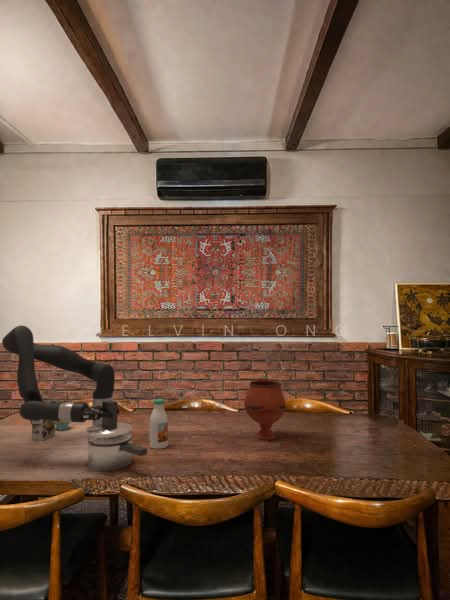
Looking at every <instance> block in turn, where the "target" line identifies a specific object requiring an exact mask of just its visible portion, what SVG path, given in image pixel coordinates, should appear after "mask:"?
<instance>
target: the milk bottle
mask: <svg viewBox="0 0 450 600" xmlns="http://www.w3.org/2000/svg"><path fill="white" fill-rule="evenodd" d="M152 404H153V405H152V406H153V409H152V411H151V412H152V413H151V415H150V419H149V447H150V449H154V450H161V449H165V448H167V447H168V445H169V421H168V415H167V412H166V411H165V407H164V405H165V399H163V398H155V399H153V401H152Z"/></svg>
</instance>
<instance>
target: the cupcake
mask: <svg viewBox="0 0 450 600" xmlns="http://www.w3.org/2000/svg"><path fill="white" fill-rule="evenodd" d="M70 423H71V422H64V421H55V428H56V429H57V430H58V431H65V430H68V428H69V425H70Z"/></svg>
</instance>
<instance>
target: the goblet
mask: <svg viewBox="0 0 450 600" xmlns="http://www.w3.org/2000/svg"><path fill="white" fill-rule="evenodd" d="M246 391H247V392H246V394H245V397H244V401H243V402H244V403H243V404H244V409H245V412H246V414H247V415H248V417H250V418H251V420H252V421H254V422H255V423H258V424H259V426H258V427H260V429H259V431H258V432H257V434H256V439H259V440H265V441H268V440H273V439H275V438H276V434H274V432H273V431H272V427H273V424H275V423H276V422H278V421H279V420H280V419H281V418H282V417H283V416H284V413H285V411H286V399H285V397H284V394H283V393H284V392H283V390H282V387H281V382H280V381H276V380H268V379H259V380H254V381H251V382H249V386H248V388H247V390H246Z"/></svg>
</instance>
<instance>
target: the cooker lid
mask: <svg viewBox="0 0 450 600" xmlns="http://www.w3.org/2000/svg"><path fill="white" fill-rule="evenodd" d="M118 403H119V402H118V401H116V400H113V399H112V400H110V401H105V402H102V411H103V413H104V412H114V417H113V418H104V417H103V419H102V423H101V424H96V425H92V424H91V425H89V427H86V428H85V429H86V431H85V432H86V436H87V437H88V438H89V437H92V438H102V439H106V438H117V437H122V436H126V435H128V434H132V433H133V425H132V424H130V423H128V422H127V423H126V422H118V414H117V408H118Z"/></svg>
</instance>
